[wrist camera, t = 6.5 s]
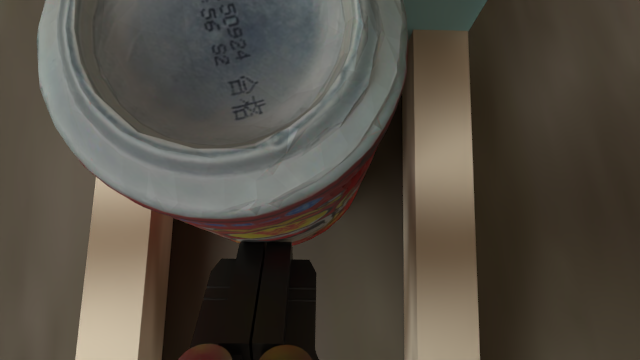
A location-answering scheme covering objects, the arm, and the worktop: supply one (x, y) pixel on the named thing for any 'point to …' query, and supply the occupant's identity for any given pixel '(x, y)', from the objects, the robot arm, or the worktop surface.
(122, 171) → the soda can
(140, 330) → the guide rails
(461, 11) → the block
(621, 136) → the worktop surface
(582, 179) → the worktop surface
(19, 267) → the worktop surface
